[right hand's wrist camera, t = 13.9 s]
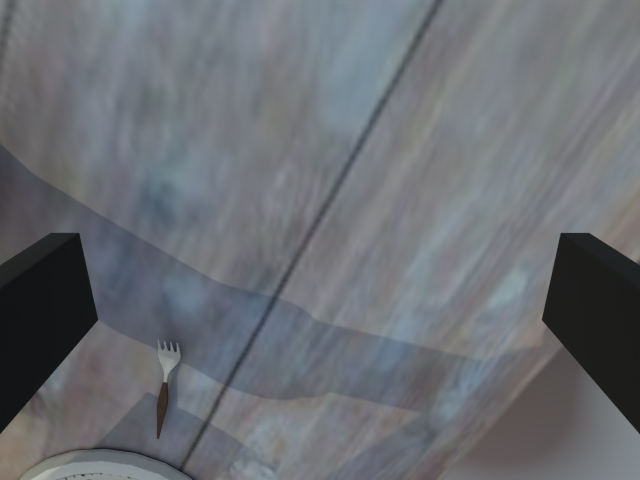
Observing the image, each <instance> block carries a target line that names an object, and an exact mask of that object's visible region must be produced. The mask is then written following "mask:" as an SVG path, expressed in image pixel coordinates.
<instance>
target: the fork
mask: <svg viewBox="0 0 640 480" xmlns="http://www.w3.org/2000/svg"><path fill="white" fill-rule="evenodd" d="M157 341H158V356H159V360H160V362H161V365H162V368H163V370H164V380H163V384H162V387H161V391H160V395H159V398H158V404H157V439H159V436H160V432H161V428H162V424H163V420H164V416H165V413H166V409H167V403H168V374H169V373H170V371H171V370H172V369H173V368H174V367H175V366H176V365H177V364H178V362H179V361H180V358H181V354H180V349H179V346H178V343H177V352H175V351H174V349H173V345H172V343H171V342H170V346H171V351H169V350H168V348H167V345H166V342H165V340H164V350H163V349H162V348H161V345H160V342H159V340H158V339H157Z"/></svg>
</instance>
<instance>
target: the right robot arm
mask: <svg viewBox="0 0 640 480" xmlns="http://www.w3.org/2000/svg"><path fill="white" fill-rule="evenodd" d="M97 321H98V317H97V313H96V308H95V303H94V299H93V294H92V290H91V285H90V281H89V276H88V271H87V267H86V262H85V258H84V253H83V249H82V244H81V239H80V235H79V233H50V234H49V235H47V236H45V237H44V238H42V239H41V240H39V241H38V242H36V243H34V244H33V245H31V246H30V247H28V248H27V249H25V250H24V251H22V252H20V253H19V254H17V255H16V256H14V257H13V258H11V259H9V260H8V261H6V262H5V263H3V264H2V265H0V434H1V433H2V431H3V430H4V429H5V428H6V427H7V426H8V424H9V423H10V422H11V421H12V420H13V419H14V417H15V416H16V415H17V414H18V413H19V412H20V410H21V409H22V408H23V407H24V406H25V405H26V403H27V402H28V401H29V400H30V399H31V398H32V396H33V395H34V394H35V393H36V392H37V391H38V389H39V388H40V387H41V386H42V385H43V384H44V382H45V381H46V380H47V379H48V378H49V377H50V375H51V374H52V373H53V372H54V371H55V370H56V368H57V367H58V366H59V365H60V364H61V363H62V361H63V360H64V359H65V358H66V357H67V356H68V354H69V353H70V352H71V351H72V350H73V349H74V347H75V346H76V345H77V344H78V343H79V342H80V341H81V339H82V338H83V337H84V336H85V335H86V334H87V332H88V331H89V330H90V329H91V328H92V327H93V325H94V324H95V323H96V322H97ZM542 321H543V322H544V323H545V324H546V325H547V327H548V328H549V329H550V330H551V331H552V332H553V334H554V335H555V336H556V337H557V338H558V339H559V341H560V342H561V343H562V344H563V345H564V346H565V347H566V349H567V350H568V351H569V352H570V353H571V354H572V356H573V357H574V358H575V359H576V360H577V361H578V363H579V364H580V365H581V366H582V367H583V368H584V370H585V371H586V372H587V373H588V374H589V375H590V377H591V378H592V379H593V380H594V381H595V382H596V384H597V385H598V386H599V387H600V388H601V389H602V391H603V392H604V393H605V394H606V395H607V396H608V398H609V399H610V400H611V401H612V402H613V403H614V405H615V406H616V407H617V408H618V409H619V410H620V412H621V413H622V414H623V415H624V416H625V417H626V419H627V420H628V421H629V422H630V423H631V424H632V426H633V427H634V428H635V429H636V430H637V431H638V432H639V434H640V265H638V264H637V263H635V262H634V261H632V260H631V259H629V258H627V257H626V256H624V255H623V254H621V253H620V252H618V251H616V250H615V249H613V248H612V247H610V246H609V245H607V244H606V243H604V242H602V241H601V240H599V239H598V238H596V237H595V236H593V235H591V234H590V233H561V235H560V239H559V244H558V249H557V253H556V258H555V262H554V267H553V271H552V276H551V281H550V285H549V290H548V294H547V299H546V303H545V308H544V313H543V317H542Z"/></svg>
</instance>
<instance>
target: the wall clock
mask: <svg viewBox="0 0 640 480" xmlns="http://www.w3.org/2000/svg"><path fill="white" fill-rule="evenodd" d="M20 480H192V479H191V478H190V477H188V476H187V475H185V474H183V473H181V472H180V471H178V470H176V469H174V468H173V467H171V466H169V465H167V464H166V463H163V462H160V461H157V460H155V459H152V458H149V457H146V456H143V455H140V454H137V453H131V452H124V451H116V450H109V449H94V450H76V451H72V452H68V453H64V454H61V455H57V456H54V457H50V458H48V459H46V460H44V461H43V462H41V463H39V464H38V465H36V466H34V467H32V468H31V469H29V470H28V471H27V472H26V473H25V474H24V475H23V477H22V478H21V479H20Z"/></svg>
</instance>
